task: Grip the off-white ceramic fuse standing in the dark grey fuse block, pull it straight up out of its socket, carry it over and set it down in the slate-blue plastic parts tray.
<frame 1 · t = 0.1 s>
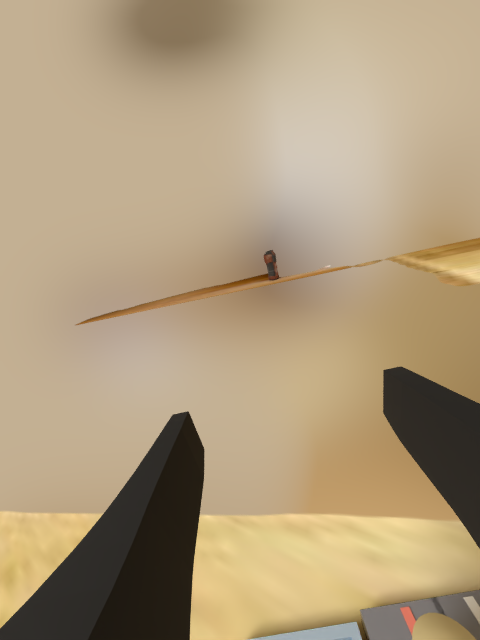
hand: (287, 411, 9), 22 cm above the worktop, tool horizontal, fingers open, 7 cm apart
grenade: (274, 279, 132), on the worktop
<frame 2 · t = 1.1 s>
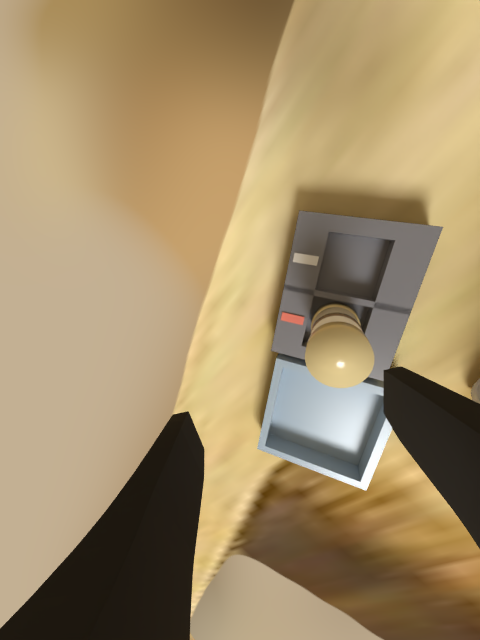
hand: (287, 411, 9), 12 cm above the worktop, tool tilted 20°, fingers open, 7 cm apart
parts tray: (322, 410, 21), on the worktop
fuse block: (341, 293, 18), on the worktop
blown fuse: (334, 323, 18), point 1 cm above the worktop, touching fuse block
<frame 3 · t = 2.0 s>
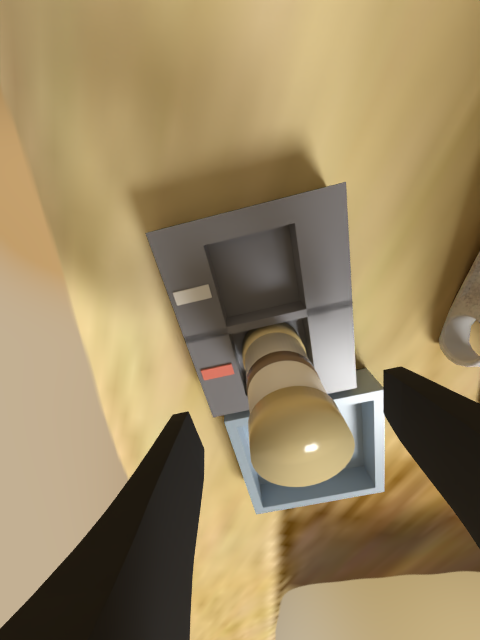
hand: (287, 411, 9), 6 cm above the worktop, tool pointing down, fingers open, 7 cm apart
parts tray: (303, 433, 17), on the worktop
fuse block: (261, 307, 13), on the worktop
blown fuse: (271, 347, 14), point 1 cm above the worktop, touching fuse block
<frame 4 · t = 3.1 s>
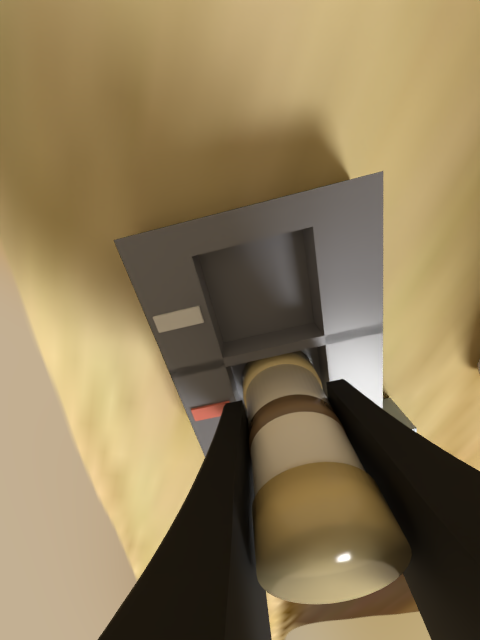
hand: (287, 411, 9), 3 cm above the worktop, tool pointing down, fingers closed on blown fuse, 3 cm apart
parts tray: (313, 470, 15), on the worktop
fuse block: (266, 328, 11), on the worktop
blown fuse: (277, 377, 11), point 1 cm above the worktop, touching fuse block, gripper
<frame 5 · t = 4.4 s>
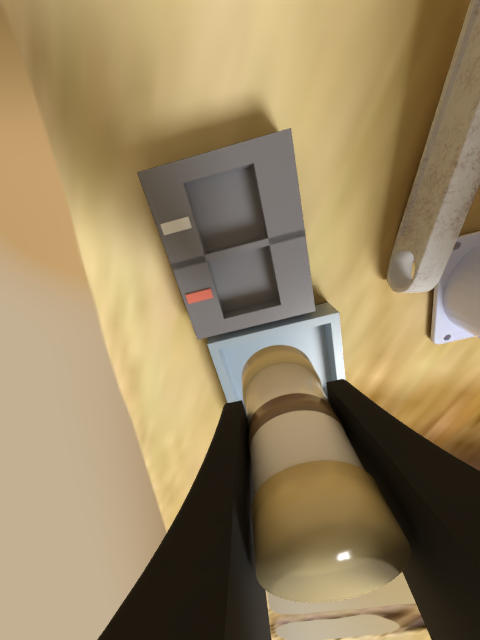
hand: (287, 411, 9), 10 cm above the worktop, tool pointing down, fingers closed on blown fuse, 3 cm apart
parts tray: (278, 366, 20), on the worktop
fuse block: (236, 245, 16), on the worktop
blown fuse: (277, 376, 11), point 8 cm above the worktop, touching gripper
when the fingers open (3 cm above the worktop, at t = 6.2 s): blown fuse stays where it is, resting on parts tray.
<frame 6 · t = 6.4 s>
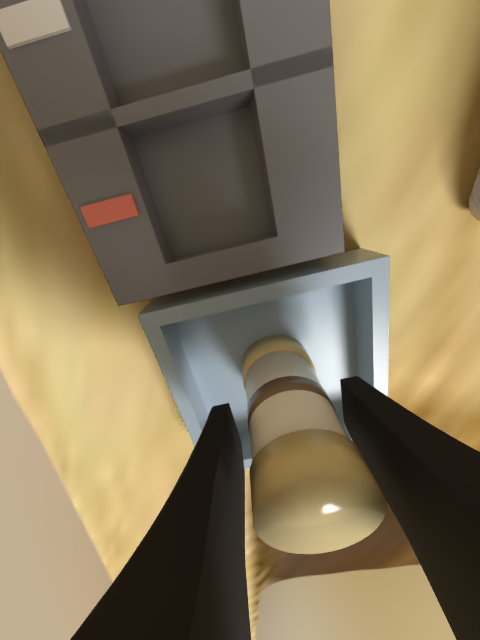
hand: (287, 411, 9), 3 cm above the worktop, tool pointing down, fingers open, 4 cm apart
parts tray: (273, 361, 12), on the worktop
fuse block: (192, 123, 8), on the worktop
blown fuse: (275, 364, 12), resting on parts tray
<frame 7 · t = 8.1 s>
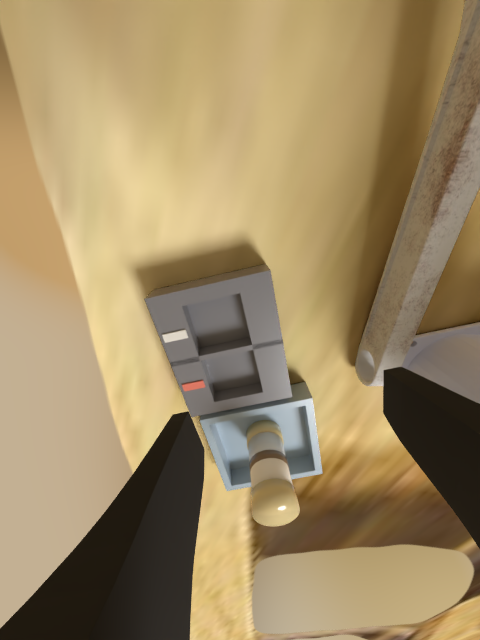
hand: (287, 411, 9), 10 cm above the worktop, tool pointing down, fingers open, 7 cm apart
parts tray: (262, 430, 23), on the worktop
fuse block: (226, 339, 19), on the worktop
blown fuse: (263, 433, 23), resting on parts tray
wrench: (409, 168, 15), on the worktop
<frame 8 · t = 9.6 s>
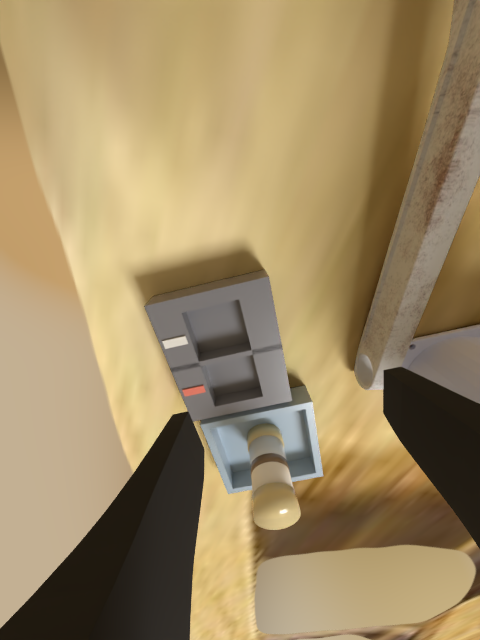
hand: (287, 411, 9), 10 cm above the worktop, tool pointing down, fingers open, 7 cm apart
parts tray: (263, 433, 23), on the worktop
fuse block: (226, 344, 19), on the worktop
blown fuse: (264, 436, 23), resting on parts tray
wrench: (403, 174, 15), on the worktop
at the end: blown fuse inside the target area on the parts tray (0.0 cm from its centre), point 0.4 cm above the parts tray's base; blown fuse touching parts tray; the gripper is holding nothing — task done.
